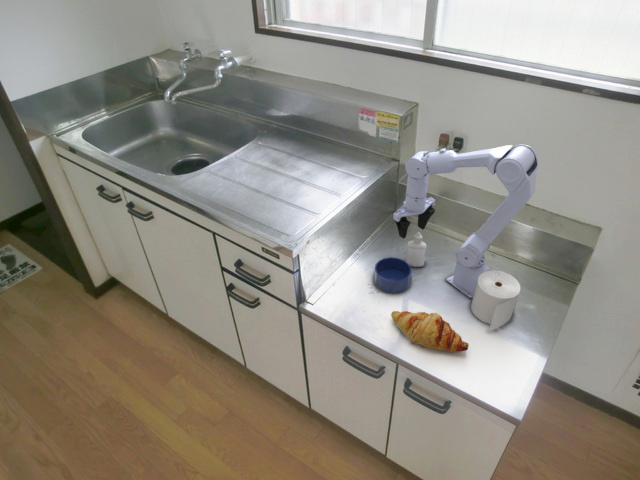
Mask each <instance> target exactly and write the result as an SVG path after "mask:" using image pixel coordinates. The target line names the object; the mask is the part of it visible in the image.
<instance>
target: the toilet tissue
mask: <svg viewBox="0 0 640 480" xmlns="http://www.w3.org/2000/svg"><path fill="white" fill-rule="evenodd" d="M520 293H521V284H520V282H519V281H518V279H516V278H515V277H514V276H513V275H511V274H510V273H507V272H506V271H505V272H504V271H501V270H495V269H493V270H492V269H491V271H486V272H484V273H482V274H481V275H480V276H479V278H478V280H477V284H476V289H475V292H474V296H473V298H472V299H471V304H470V308H471V312H472V314H473V315H474V316H475V317H476V319H478V320H480V321H481V322H483V323H485V324H489V329H488V332H489V331H494V330H496V329H498V328H501V327H502V326H503V325H506V324H507V323H508V322H509V321H510V320H511V319H512V316H513V313H514V310H515V307H516V305H517V301H518V299H519V296H520Z"/></svg>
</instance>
